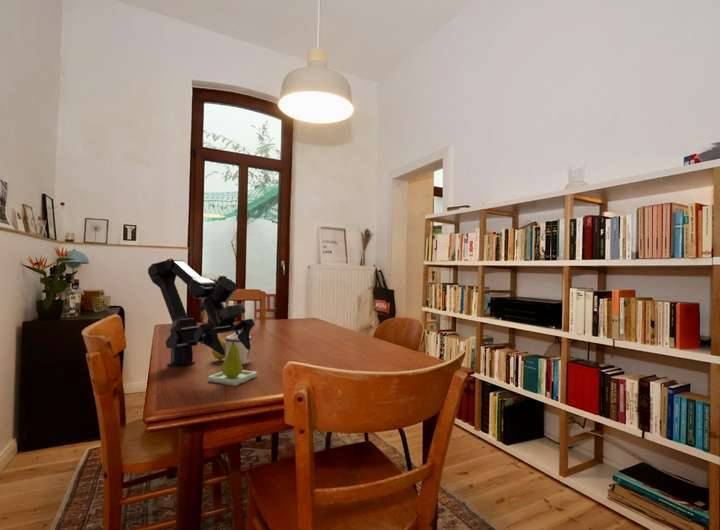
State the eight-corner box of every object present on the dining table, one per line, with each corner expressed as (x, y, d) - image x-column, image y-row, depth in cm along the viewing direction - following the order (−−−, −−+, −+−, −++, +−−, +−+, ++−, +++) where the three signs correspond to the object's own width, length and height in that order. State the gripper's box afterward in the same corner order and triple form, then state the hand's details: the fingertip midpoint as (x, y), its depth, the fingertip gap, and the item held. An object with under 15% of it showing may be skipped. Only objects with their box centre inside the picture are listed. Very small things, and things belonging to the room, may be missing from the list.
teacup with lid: (253, 364, 131) (254, 331, 131) (226, 366, 127) (227, 332, 127) (246, 356, 142) (247, 326, 142) (221, 358, 137) (222, 327, 138)
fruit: (219, 375, 114) (220, 336, 114) (239, 373, 117) (240, 335, 117) (223, 381, 108) (225, 340, 109) (245, 378, 112) (246, 338, 112)
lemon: (222, 363, 131) (223, 340, 131) (208, 361, 132) (209, 339, 132) (231, 359, 137) (231, 337, 137) (217, 358, 138) (218, 336, 138)
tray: (208, 381, 110) (208, 376, 110) (231, 372, 119) (231, 368, 119) (235, 385, 106) (235, 380, 106) (256, 376, 116) (257, 372, 116)
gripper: (200, 296, 108) (221, 339, 101) (252, 294, 123) (273, 331, 116) (184, 321, 112) (204, 363, 106) (236, 315, 127) (256, 352, 121)
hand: (236, 351), depth 112 cm, fingers open, 9 cm apart
